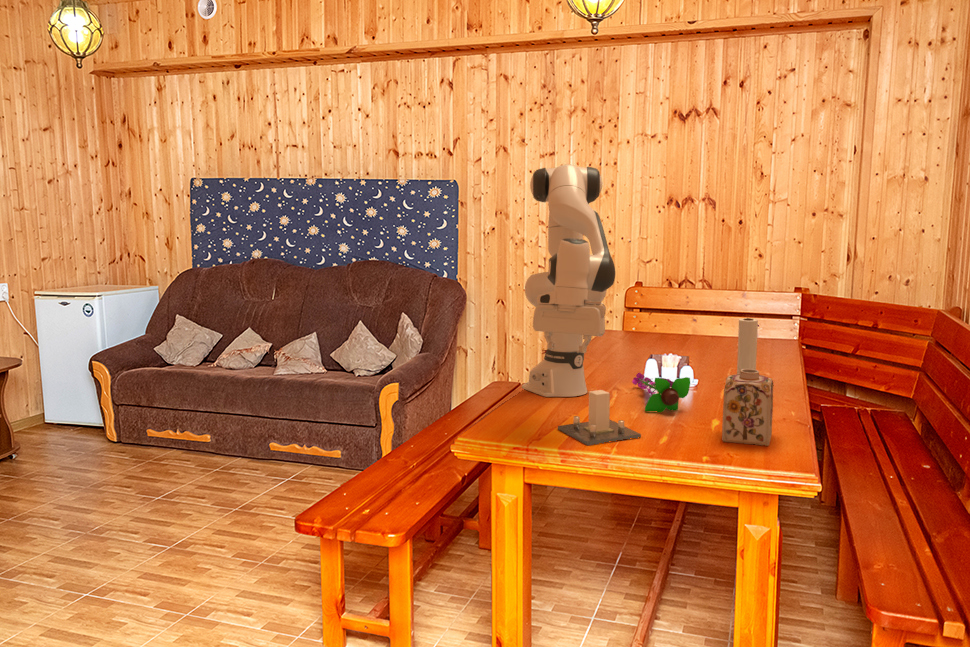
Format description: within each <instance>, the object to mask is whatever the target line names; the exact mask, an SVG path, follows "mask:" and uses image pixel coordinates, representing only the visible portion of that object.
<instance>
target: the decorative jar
mask: <svg viewBox="0 0 970 647" xmlns="http://www.w3.org/2000/svg"><path fill="white" fill-rule="evenodd" d="M725 379H726V380H725V384H724V388H723V405H722V407H723V408H722V409H723V410H722V425H721V426H722V427H721V430H722V431H721V432H722V433H721V440H722V442H724V443H735V444H743V443H744V444H745V445H753V444H755V446H763V445H765V446H764V447H769V446H770V443H771V439H772V432H773V410H774V408H773V407H774V402H773V401H774V381H773V379H772V378H770V377H769V376H766V375H763V374H760V370H758V369H756V370H754V369H741V370H740V374H737V373H736V374H731V375H730V374H729V375H728V376H726V378H725ZM744 444H743V445H744Z"/></svg>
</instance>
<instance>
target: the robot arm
mask: <svg viewBox="0 0 970 647" xmlns="http://www.w3.org/2000/svg"><path fill="white" fill-rule="evenodd" d="M529 185H530V188H529V189H530V192H531V194H532V197H533V199H534V200H535V201H536V202H538V203H539V202H540V203H547V204H548V212H549V213H548V224H547V227H548V228H547V229H548V230H547V231H548V232H547V235H548V236H547V237H548V238H547V244H548V245H547V249H548V253H549V255H550V258H549V259H548V271H544V272H543V271H542V272H538V273H534V274H533V273H532V274H531V275H529V277H528V278H527V279H526V281H525V284H524V295H525V297H526V299H527V301H528V302H529V303H530V304H531V305H532V306H534V312H533V317H532V318H533V319H532V327H533V330H534V332H544V333H543V334H544V335H543V336H544V339H545V341H546V343H547V345H546V349H544V350H541V352H542V353H541V354H542V355H544V357H543V360H542V361H540V362H539V363H538V364H537V365H535V366H534V367H532V368H531V369H530V371H529V375H528V382H524V383H523V384H522V385H521V389H523V390H526V391H529V392H532V393H534V394H537V395H539V396H542V397H546V398H549V397H550V398H551V397H552V398H553V397H561V398H563V397H567V398H568V397H570V398H571V397H577V396H583V395H585V394H587V393H589V391H588V388H587V384H586V379H585V378H586V377H585V369H584V360H585V354H586V353H587V349H588V346H589V344H590V343H591V341H592V337H603V335H605V333H606V320H605V315H606V309H607V308H606V304H604V303H603V301H604V298H605V297H606V294H607V290H608V289H609V288H611V287H612V286H613V285H614V284H615V279H616V273H617V272H616V267H615V262H614V260H613V257H612V255H611V253H610V249H609V245H608V243H607V242H608V241H607V238H606V234H605V230H604V227H603V223H602V219H601V218H600V215H599V213H598V212H597V211H596V210H594V209H593V207H591V206H590V203H593V202H595V201H596V200H597V199H598V198H599V197H600V194H601V192H602V190H603V189H602V188H603V179H602V176H601V173H600V171H599V169H597V167H592V166H587V167H583V166H576V165H573V164H569V163H566V164H561V165H559V166H557V167H549V168H546V167H542V168H538V169H536V170H535V171H533V174H532V176H531V179H530V182H529ZM584 237H585V238H587V240H588V241H587V240H585V239H584ZM590 249H591V252H590ZM583 340H584V341H583Z"/></svg>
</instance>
